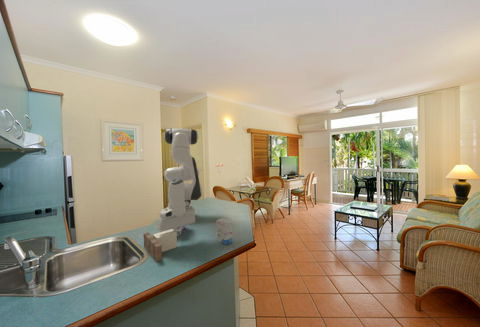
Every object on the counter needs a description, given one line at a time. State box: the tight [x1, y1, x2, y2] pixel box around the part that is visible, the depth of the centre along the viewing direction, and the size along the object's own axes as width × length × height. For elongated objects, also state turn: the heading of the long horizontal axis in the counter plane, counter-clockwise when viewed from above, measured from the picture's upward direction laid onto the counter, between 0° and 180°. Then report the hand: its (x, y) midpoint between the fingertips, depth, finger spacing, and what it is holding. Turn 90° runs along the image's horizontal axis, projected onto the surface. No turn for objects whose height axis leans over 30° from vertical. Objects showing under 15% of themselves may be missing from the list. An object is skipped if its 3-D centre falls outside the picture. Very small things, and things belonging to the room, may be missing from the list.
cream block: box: [152, 229, 178, 253], centre depth 101 cm, size 6×10×8 cm, turn 132°
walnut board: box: [143, 232, 163, 262], centre depth 97 cm, size 20×2×7 cm, turn 42°
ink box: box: [216, 218, 233, 246], centre depth 108 cm, size 9×5×12 cm, turn 44°
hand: (177, 234), depth 106 cm, fingers closed
